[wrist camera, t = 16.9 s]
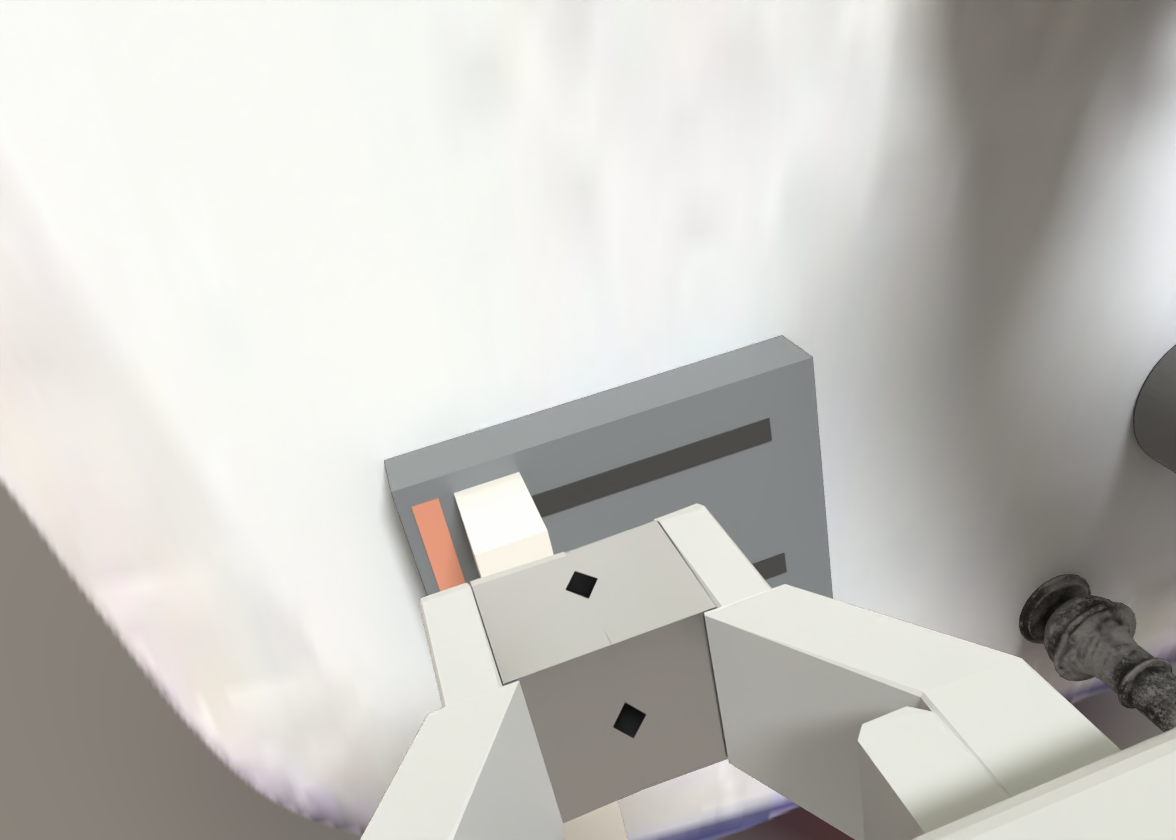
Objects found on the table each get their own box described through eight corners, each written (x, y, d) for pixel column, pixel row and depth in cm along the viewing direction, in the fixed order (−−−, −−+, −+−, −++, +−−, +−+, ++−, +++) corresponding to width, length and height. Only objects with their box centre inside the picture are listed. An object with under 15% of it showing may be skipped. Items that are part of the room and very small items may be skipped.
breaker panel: (782, 335, 46) (872, 400, 39) (815, 665, 56) (890, 762, 50) (384, 460, 43) (405, 555, 36) (497, 786, 53) (530, 908, 46)
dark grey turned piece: (1023, 581, 59) (1183, 712, 48) (1100, 561, 60) (1272, 685, 50) (1008, 654, 61) (1157, 794, 51) (1083, 634, 63) (1243, 766, 52)
